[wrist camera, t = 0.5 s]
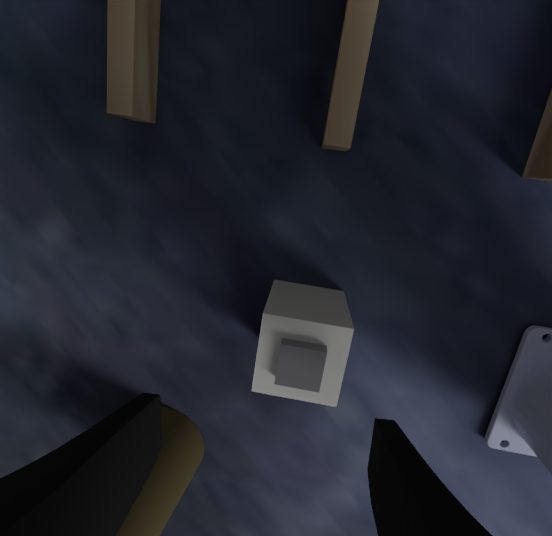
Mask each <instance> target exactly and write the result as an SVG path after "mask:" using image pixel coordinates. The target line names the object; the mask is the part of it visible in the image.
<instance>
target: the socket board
mask: <svg viewBox="0 0 552 536" xmlns="http://www.w3.org/2000/svg"><path fill="white" fill-rule="evenodd" d="M378 3H379V0H347V4H346V10H345V16H344V22H343V27H342V33H341V39H340V45H339V51H338V57H337V62H336V68H335V74H334V80H333V86H332V92H331V97H330V103H329V109H328V115H327V121H326V126H325V132H324V138H323V144H322V148H324V149H331V150H338V151H344V152H345V151H347V150H349V149H350V148H351V143H352V138H353V133H354V127H355V122H356V117H357V112H358V107H359V102H360V96H361V91H362V86H363V81H364V76H365V71H366V65H367V60H368V55H369V50H370V45H371V40H372V34H373V29H374V24H375V19H376V14H377V9H378ZM160 12H161V0H108V14H107V113H109V114H112V115H116V116H119V117H123V118H126V119H130V120H133V121H139V122H146V123H153V124H156V104H157V81H158V58H159V35H160ZM522 178H529V179H536V180H543V181H552V89H551V92H550V95H549V98H548V101H547V104H546V107H545V110H544V113H543V116H542V119H541V122H540V125H539V128H538V131H537V134H536V137H535V140H534V143H533V146H532V149H531V152H530V155H529V158H528V161H527V164H526V167H525V170H524V173H523V176H522Z"/></svg>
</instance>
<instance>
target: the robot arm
mask: <svg viewBox="0 0 552 536" xmlns="http://www.w3.org/2000/svg"><path fill="white" fill-rule="evenodd" d="M545 334H548V336H547V337H546V338H545V339H542V337H543V335H545ZM484 439H485V442H486V443H487V445H488V446H489V447H490V448H493V449H499V450H504V451H509V452H515V453H520V454H525V455H530V456H536V457H538V458H539V459H540V460H541V462H542V463H543V464H544V465H545V467H546V468H547V469H548V471H549V472H550V473H551V474H552V328H549V327H543V326H537V325H533V326H530V327H528V328H527V329H526V330H525V332H524V334H523V337H522V339H521V342H520V345H519V347H518V350H517V353H516V355H515V358H514V361H513V363H512V366H511V368H510V371H509V374H508V376H507V379H506V382H505V384H504V387H503V389H502V392H501V395H500V397H499V400H498V403H497V405H496V408H495V411H494V413H493V416H492V418H491V421H490V424H489V426H488V429H487V432H486V434H485V438H484ZM503 440H505V441H504V442H502V443H500V442H501V441H503ZM162 445H163V443H162V423H161V403H160V395H158V394H149V393H142V394H140V395H139V396H137V397H136V398H134V399H133V400H131V401H130V402H128V403H127V404H125V405H124V406H122V407H121V408H119V409H118V410H116V411H115V412H114V413H112V414H111V415H109V416H108V417H106V418H105V419H103V420H102V421H100V422H99V423H97V424H96V425H94V426H93V427H91V428H90V429H88V430H86V431H85V432H83V433H82V434H80V435H78V436H77V437H75V438H73V439H72V440H70V441H69V442H67V443H65V444H64V445H62V446H60V447H59V448H57V449H55V450H54V451H52V452H50V453H48V454H47V455H45V456H43V457H41V458H39V459H38V460H36V461H34V462H32V463H30V464H28V465H26V466H24V467H22V468H21V469H19V470H17V471H15V472H13V473H11V474H9V475H6V476H4V477H2V478H0V536H116V534H117V533H118V531H119V529H120V527H121V525H122V524H123V522H124V520H125V518H126V517H127V515H128V513H129V511H130V510H131V508H132V506H133V504H134V503H135V501H136V499H137V497H138V495H139V494H140V492H141V490H142V488H143V486H144V485H145V483H146V481H147V479H148V477H149V476H150V473H151V471H152V469H153V467H154V464H155V462H156V460H157V457H158V455H159V452H160V450H161V447H162ZM368 479H369V488H370V497H371V505H372V509H373V514H374V519H375V523H376V528H377V533H378V536H492V535H491V534H490V533H489V532H488V531H487V530H486V529H485V528H484V527H483V526H482V525H481V524H480V523H479V522H478V521H477V520H476V519H475V518H474V517H473V516H472V515H471V514H470V513H469V512H468V511H467V510H466V509H465V508H464V507H463V506H462V504H461V503H460V502H459V501H458V500H457V499H456V498H455V497H454V495H453V494H452V493H451V492H450V491H449V490H448V489H447V487H446V486H445V485H444V484H443V483H442V481H441V480H440V479H439V478H438V477H437V475H436V474H435V473H434V472H433V470H432V469H431V468H430V467H429V465H428V464H427V463H426V462H425V460H424V459H423V458H422V457H421V455H420V454H419V453H418V451H417V450H416V449H415V447H414V446H413V445H412V443H411V442H410V441H409V439H408V438H407V437H406V435H405V434H404V432H403V431H402V430H401V428H400V427H399V426H398V424H397V423H396V422H395V421H394V420H386V419H377V418H375V422H374V429H373V436H372V442H371V449H370V456H369V463H368Z"/></svg>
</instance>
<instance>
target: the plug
mask: <svg viewBox="0 0 552 536" xmlns="http://www.w3.org/2000/svg"><path fill="white" fill-rule="evenodd" d="M353 332H354V327H353V323H352V319H351V316H350V312H349V308H348V305H347V301H346V297H345V294H344V291H340V290H334V289H328V288H322V287H316V286H310V285H304V284H298V283H292V282H286V281H280V280H275V279H274V282H273V285H272V288H271V291H270V294H269V297H268V300H267V303H266V305H265V308H264V311H263V315H262V322H261V329H260V336H259V343H258V350H257V357H256V364H255V371H254V378H253V385H252V391H253V392H259V393H264V394H269V395H275V396H280V397H285V398H291V399H296V400H301V401H307V402H312V403H317V404H323V405H328V406H333V407H337V402H338V398H339V393H340V389H341V385H342V380H343V376H344V371H345V367H346V363H347V358H348V354H349V349H350V345H351V341H352V336H353Z"/></svg>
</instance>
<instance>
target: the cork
mask: <svg viewBox="0 0 552 536" xmlns="http://www.w3.org/2000/svg"><path fill="white" fill-rule="evenodd" d="M161 423H162V443H163V445H162V447H161V450H160V452H159V455H158V457H157V460H156V462H155V464H154V467H153V469H152V471H151V473H150V476H149V477H148V479H147V481H146V483H145V485H144V486H143V488H142V490H141V492H140V494H139V495H138V497H137V499H136V501H135V503H134V504H133V506H132V508H131V510H130V511H129V513H128V515H127V517H126V518H125V520H124V522H123V524H122V525H121V527H120V529H119V531H118V533H117V534H116V536H160V534H161V532H162V530H163V529H164V527H165V525H166V523H167V521H168V520H169V518H170V516H171V514H172V513H173V511H174V509H175V507H176V505H177V504H178V502H179V500H180V498H181V497H182V495H183V493H184V491H185V490H186V488H187V486H188V484H189V482H190V481H191V479H192V477H193V475H194V474H195V472H196V470H197V468H198V466H199V465H200V463H201V461H202V459H203V454H204V449H205V448H204V442H203V437H202V435H201V433H200V432H199V430H198V428H197V426H196V425H195V424H194V423H193V422H192V421H191V420H190V419H189V418H188V417H187V416H185V415H184V414H182V413H180V412H178V411H176V410H175V409H172V408H168V407H164V406H161Z"/></svg>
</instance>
